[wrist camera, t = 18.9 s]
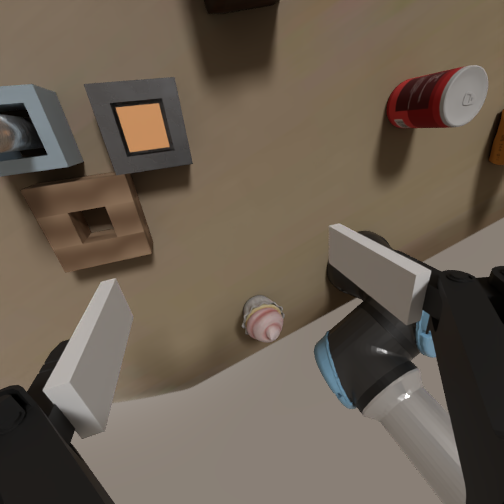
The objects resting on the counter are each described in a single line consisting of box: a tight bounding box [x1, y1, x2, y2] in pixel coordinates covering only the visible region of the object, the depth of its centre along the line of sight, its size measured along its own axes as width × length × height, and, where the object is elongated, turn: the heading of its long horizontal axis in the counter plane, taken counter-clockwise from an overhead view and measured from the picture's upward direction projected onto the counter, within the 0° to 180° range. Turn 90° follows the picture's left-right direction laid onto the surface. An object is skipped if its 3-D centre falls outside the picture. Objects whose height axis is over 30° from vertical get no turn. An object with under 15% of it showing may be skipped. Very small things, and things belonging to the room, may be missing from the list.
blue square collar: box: [0, 84, 84, 176], centre depth 29 cm, size 8×8×6 cm
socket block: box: [20, 172, 153, 273], centre depth 36 cm, size 12×12×4 cm
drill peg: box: [0, 114, 44, 153], centre depth 25 cm, size 4×4×15 cm
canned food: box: [387, 65, 488, 128], centre depth 40 cm, size 8×8×11 cm
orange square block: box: [116, 103, 170, 152], centre depth 32 cm, size 5×5×4 cm
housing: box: [84, 77, 193, 175], centre depth 33 cm, size 10×10×4 cm
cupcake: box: [242, 295, 285, 342], centre depth 50 cm, size 9×9×10 cm
